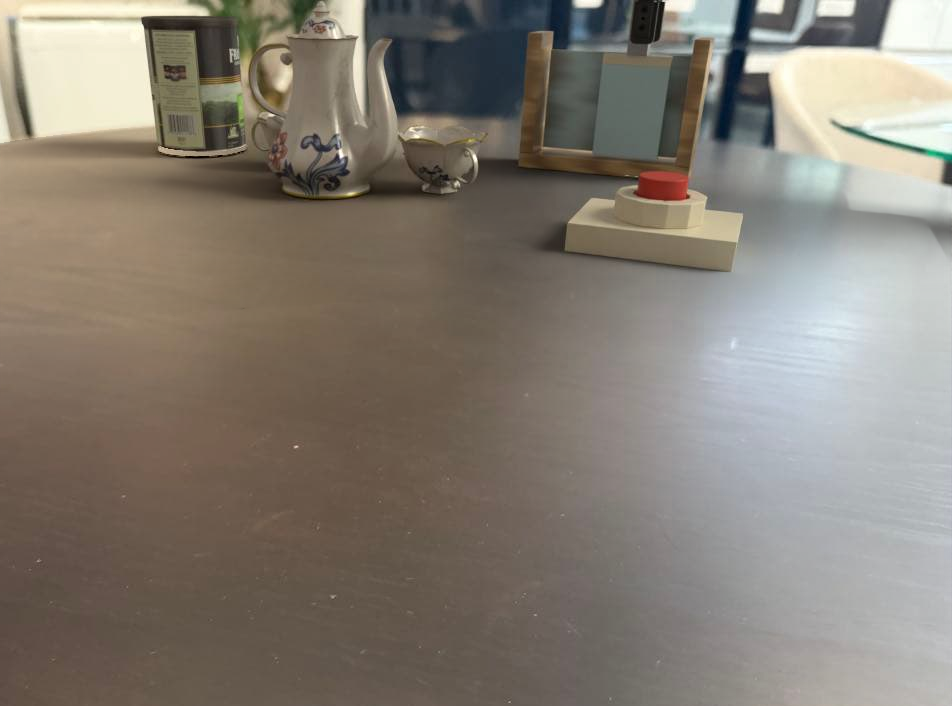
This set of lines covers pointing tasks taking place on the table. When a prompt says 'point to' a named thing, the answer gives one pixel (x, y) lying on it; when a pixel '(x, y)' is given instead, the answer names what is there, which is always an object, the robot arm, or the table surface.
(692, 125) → the window frame
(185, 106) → the coffee can
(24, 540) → the table surface
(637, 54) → the blue-grey flat panel
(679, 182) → the button
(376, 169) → the chinaware
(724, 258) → the button box
